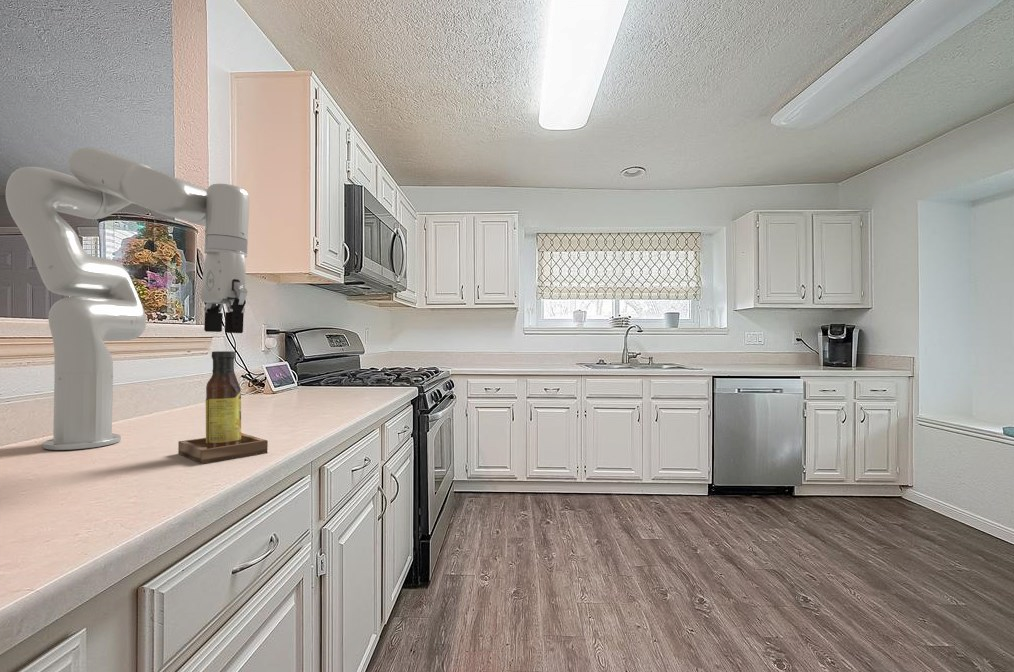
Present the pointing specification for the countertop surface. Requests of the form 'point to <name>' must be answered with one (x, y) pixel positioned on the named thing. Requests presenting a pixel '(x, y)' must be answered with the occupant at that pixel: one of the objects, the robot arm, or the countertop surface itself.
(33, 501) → the countertop surface
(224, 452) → the tray
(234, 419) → the sauce bottle
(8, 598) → the countertop surface
